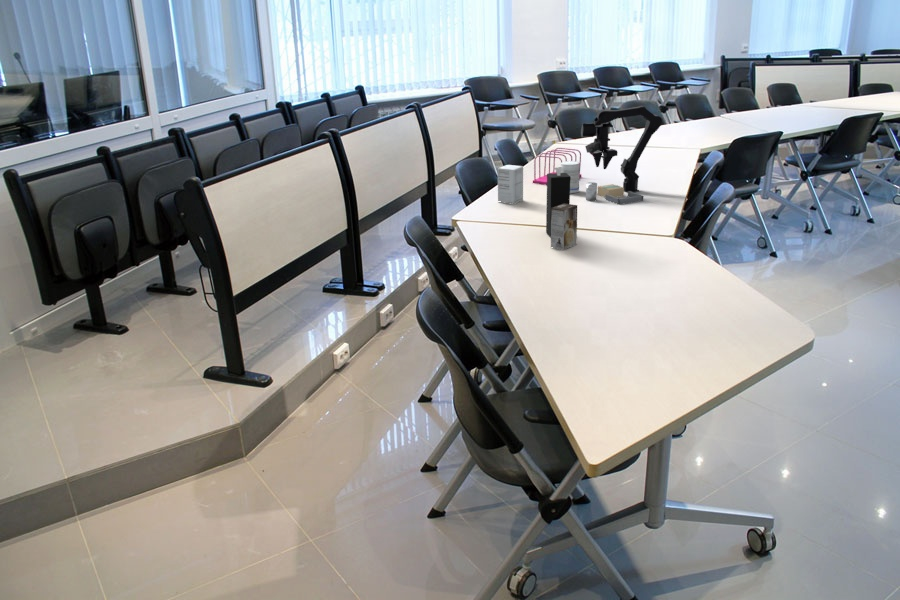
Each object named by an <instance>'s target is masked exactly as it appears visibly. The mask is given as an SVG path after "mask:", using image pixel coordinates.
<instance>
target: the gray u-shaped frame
mask: <svg viewBox="0 0 900 600" xmlns="http://www.w3.org/2000/svg"><path fill="white" fill-rule="evenodd" d="M628 196H629V197H628ZM605 199H606V200H605ZM604 200H605V201H608V202H610V201H611V202H610V203H613V202H614V204H616V203H617V204H616V205H618V204H619V205H624V204H623V203H625V204H631V202H632V203H637V202H638V201H639V202H644V195H642V194H640V193H637V192H631V191H628V192H627V197H613V196H611V195H608V194H606V195H605V197H604Z"/></svg>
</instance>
